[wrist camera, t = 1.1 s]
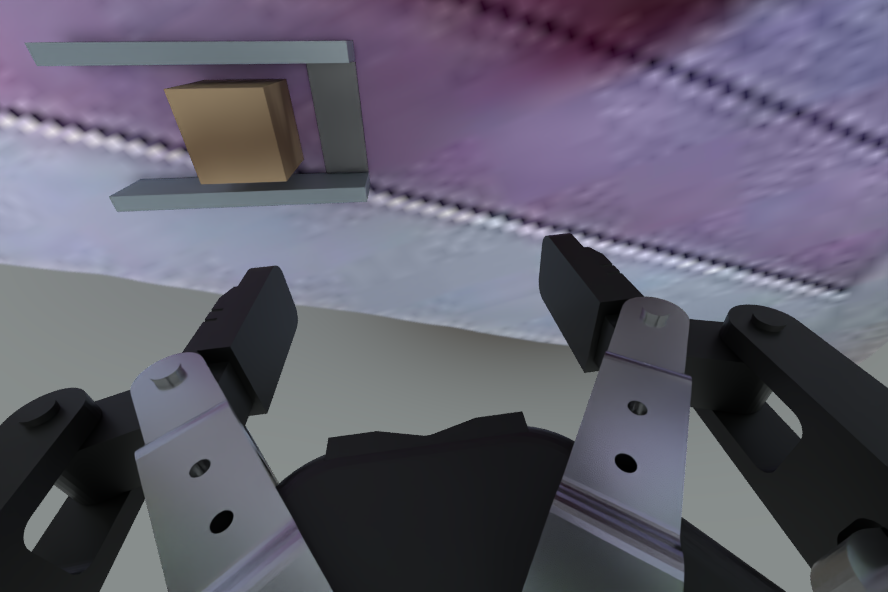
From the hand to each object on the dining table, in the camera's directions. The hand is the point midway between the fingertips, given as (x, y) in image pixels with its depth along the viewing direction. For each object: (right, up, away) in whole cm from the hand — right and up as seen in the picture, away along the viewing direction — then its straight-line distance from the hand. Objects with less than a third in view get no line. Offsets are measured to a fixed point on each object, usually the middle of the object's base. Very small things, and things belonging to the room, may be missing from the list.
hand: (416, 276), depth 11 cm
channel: (-13, +11, +13) cm, 21 cm away
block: (-12, +11, +13) cm, 21 cm away
